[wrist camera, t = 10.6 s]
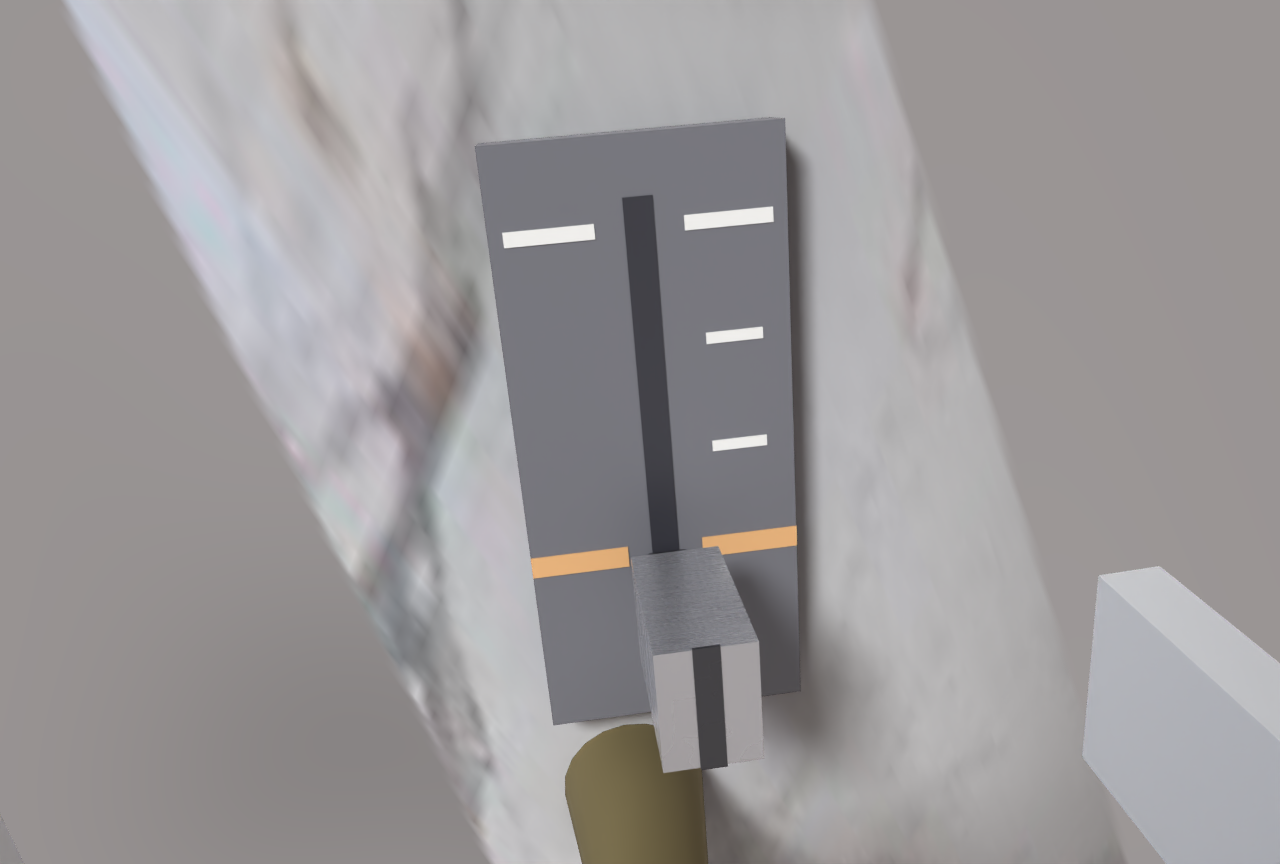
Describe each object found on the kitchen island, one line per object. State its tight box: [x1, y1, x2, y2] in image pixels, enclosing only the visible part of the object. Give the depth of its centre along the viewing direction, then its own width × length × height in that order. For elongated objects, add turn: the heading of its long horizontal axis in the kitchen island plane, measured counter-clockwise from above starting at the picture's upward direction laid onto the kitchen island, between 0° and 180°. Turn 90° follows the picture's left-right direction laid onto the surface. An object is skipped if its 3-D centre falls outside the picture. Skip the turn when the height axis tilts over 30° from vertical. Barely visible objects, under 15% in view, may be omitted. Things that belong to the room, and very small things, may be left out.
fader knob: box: [631, 546, 764, 773], centre depth 31 cm, size 4×3×9 cm
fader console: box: [475, 117, 801, 725], centre depth 35 cm, size 22×10×2 cm, turn 5°
